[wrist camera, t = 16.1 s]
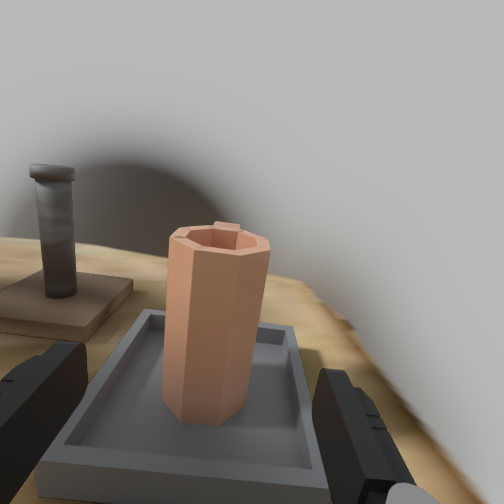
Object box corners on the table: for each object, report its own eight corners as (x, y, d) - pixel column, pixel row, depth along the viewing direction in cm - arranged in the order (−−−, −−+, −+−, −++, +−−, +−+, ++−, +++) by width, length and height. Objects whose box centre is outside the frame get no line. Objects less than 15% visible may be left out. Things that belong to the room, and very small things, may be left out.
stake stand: (85, 342, 24) (77, 177, 20) (-38, 328, 23) (-72, 157, 19) (133, 290, 33) (134, 172, 29) (46, 279, 33) (35, 158, 29)
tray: (322, 523, 14) (333, 489, 13) (38, 497, 13) (33, 459, 13) (288, 348, 27) (292, 326, 26) (143, 331, 26) (144, 308, 26)
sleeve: (244, 428, 17) (272, 259, 14) (153, 419, 17) (160, 245, 14) (245, 353, 24) (265, 227, 21) (180, 346, 24) (189, 217, 20)
